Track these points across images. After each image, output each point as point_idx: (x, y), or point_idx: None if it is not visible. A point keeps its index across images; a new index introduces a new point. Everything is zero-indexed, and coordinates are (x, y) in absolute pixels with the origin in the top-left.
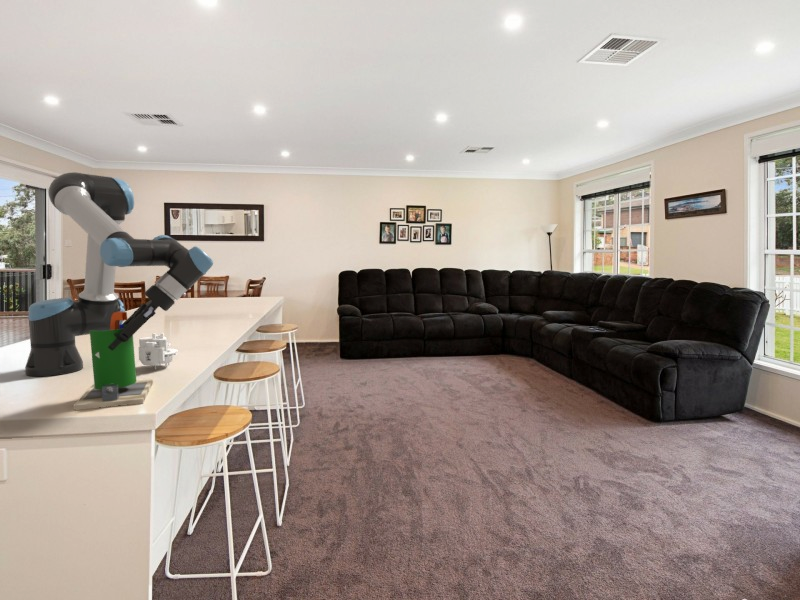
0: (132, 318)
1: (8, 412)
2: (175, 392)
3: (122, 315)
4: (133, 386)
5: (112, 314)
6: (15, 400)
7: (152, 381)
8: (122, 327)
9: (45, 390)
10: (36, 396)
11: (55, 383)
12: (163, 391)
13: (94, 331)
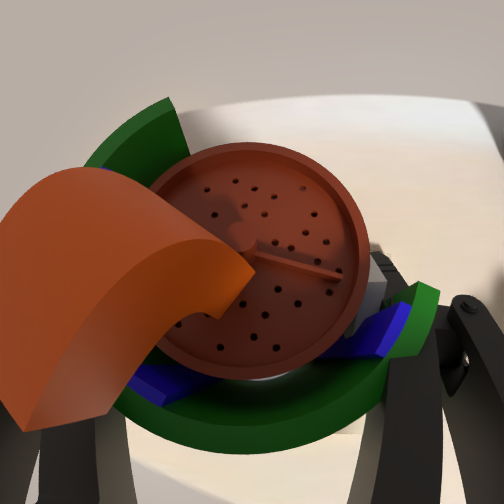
0: (372, 484)
1: (223, 107)
2: (190, 483)
3: (115, 354)
4: (275, 377)
5: (84, 169)
6: (323, 106)
7: (346, 432)
8: (370, 346)
9: (394, 150)
10: (343, 136)
11: (453, 169)
12: (221, 458)
13: (120, 129)
